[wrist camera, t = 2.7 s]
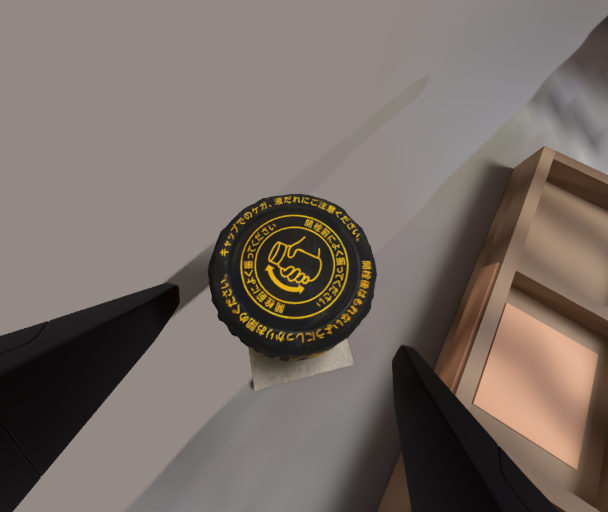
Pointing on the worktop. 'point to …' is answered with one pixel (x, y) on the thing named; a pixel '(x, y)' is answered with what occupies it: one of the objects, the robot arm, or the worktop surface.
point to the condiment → (292, 285)
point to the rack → (538, 334)
